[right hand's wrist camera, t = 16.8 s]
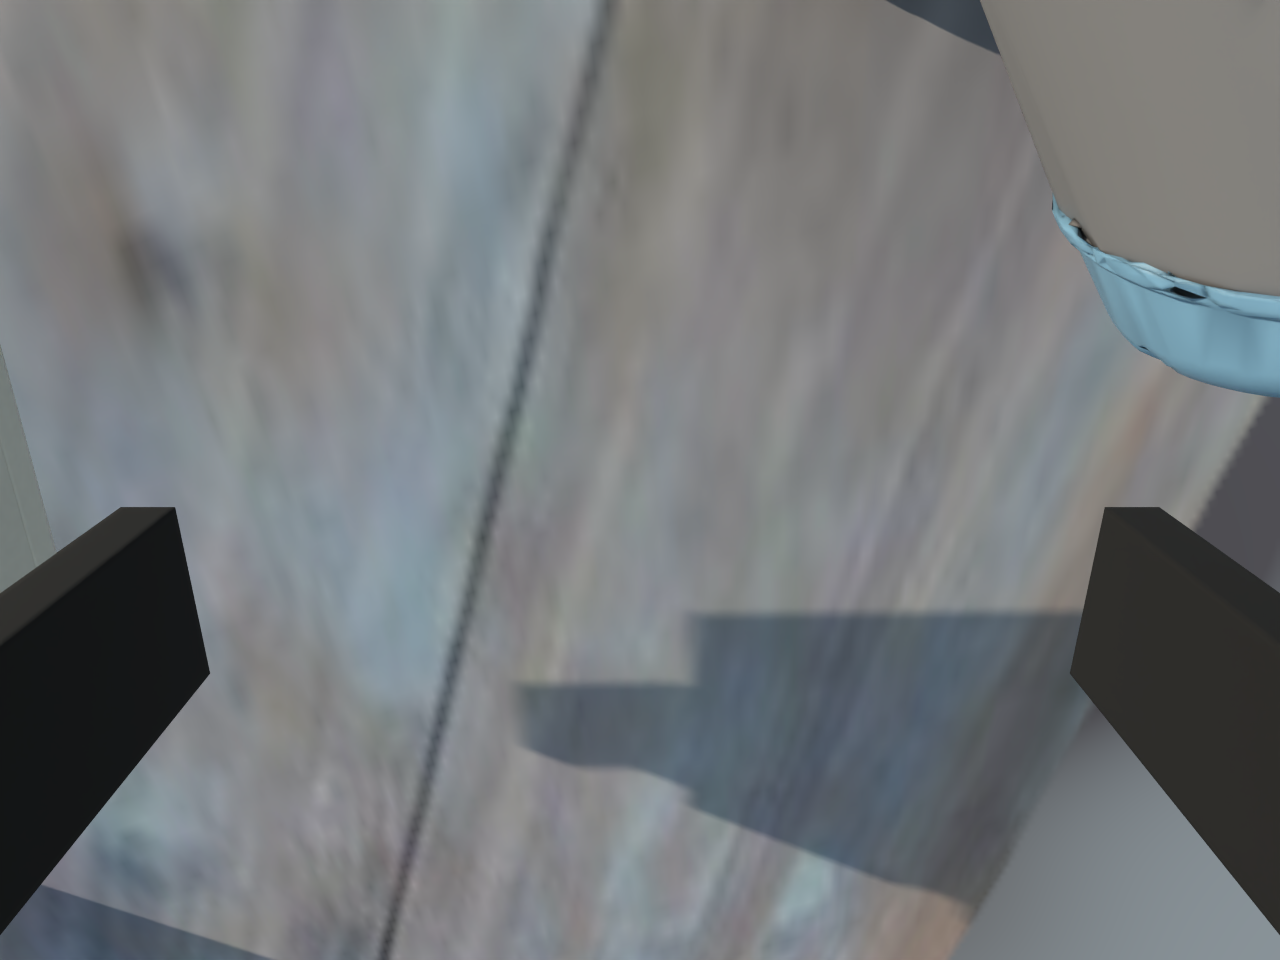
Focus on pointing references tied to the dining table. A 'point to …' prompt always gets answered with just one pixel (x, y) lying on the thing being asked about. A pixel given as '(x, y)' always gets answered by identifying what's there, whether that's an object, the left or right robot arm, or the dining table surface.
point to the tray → (18, 496)
